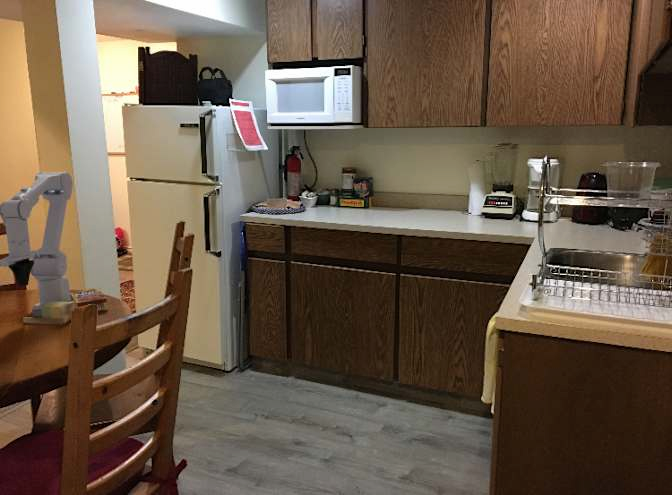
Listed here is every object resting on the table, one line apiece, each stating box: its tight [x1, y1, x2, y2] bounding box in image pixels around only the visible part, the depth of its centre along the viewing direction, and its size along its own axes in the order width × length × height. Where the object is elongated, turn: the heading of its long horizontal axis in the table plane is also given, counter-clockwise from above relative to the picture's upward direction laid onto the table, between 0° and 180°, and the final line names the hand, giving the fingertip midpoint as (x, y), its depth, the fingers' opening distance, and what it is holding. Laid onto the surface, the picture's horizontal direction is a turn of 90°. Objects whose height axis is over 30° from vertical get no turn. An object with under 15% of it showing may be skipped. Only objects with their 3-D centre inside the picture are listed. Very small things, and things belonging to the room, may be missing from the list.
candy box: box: [70, 287, 109, 312], centre depth 186 cm, size 9×4×15 cm
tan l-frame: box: [22, 300, 75, 325], centre depth 173 cm, size 7×13×5 cm, turn 81°
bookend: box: [31, 304, 45, 318], centre depth 174 cm, size 5×3×4 cm, turn 171°
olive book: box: [41, 301, 59, 318], centre depth 173 cm, size 5×3×5 cm, turn 171°
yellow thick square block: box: [50, 301, 69, 318], centre depth 173 cm, size 5×3×5 cm, turn 171°
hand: (23, 285), depth 173 cm, fingers closed
